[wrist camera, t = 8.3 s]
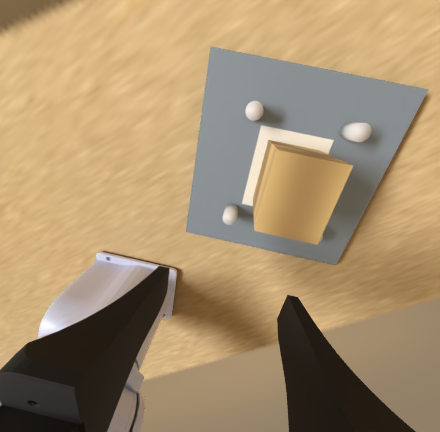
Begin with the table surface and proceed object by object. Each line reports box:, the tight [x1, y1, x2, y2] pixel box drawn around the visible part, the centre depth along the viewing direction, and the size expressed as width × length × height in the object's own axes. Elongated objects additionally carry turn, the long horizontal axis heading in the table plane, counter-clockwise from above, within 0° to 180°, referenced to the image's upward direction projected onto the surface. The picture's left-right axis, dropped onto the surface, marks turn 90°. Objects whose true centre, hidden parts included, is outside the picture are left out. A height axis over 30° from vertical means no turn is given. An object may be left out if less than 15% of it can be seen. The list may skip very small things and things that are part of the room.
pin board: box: [186, 47, 428, 265], centre depth 17 cm, size 15×15×3 cm
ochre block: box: [253, 140, 353, 245], centre depth 15 cm, size 4×5×6 cm
